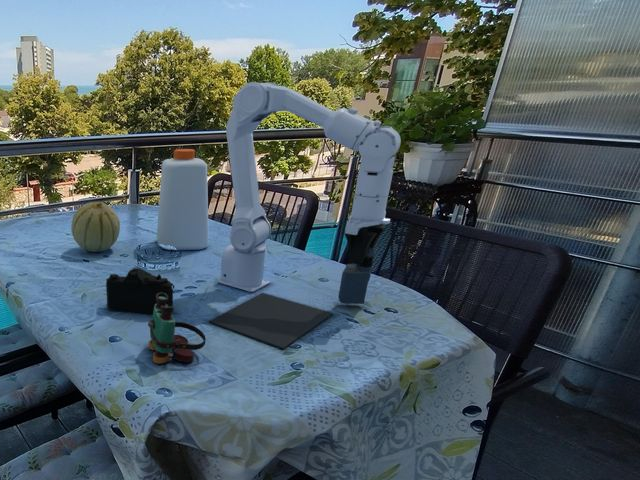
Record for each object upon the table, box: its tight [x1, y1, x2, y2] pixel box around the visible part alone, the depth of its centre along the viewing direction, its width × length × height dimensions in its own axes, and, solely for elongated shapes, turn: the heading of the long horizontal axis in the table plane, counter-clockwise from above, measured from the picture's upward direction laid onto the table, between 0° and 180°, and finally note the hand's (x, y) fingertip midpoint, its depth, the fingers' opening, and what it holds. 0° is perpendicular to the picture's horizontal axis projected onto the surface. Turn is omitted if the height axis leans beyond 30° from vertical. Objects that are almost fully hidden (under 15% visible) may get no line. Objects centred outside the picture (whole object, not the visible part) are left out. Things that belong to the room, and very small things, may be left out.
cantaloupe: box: [70, 201, 121, 253], centre depth 138 cm, size 15×15×15 cm
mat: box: [209, 292, 334, 351], centre depth 94 cm, size 16×20×1 cm
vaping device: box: [338, 247, 375, 305], centre depth 95 cm, size 3×5×12 cm, turn 79°
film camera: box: [105, 267, 175, 315], centre depth 101 cm, size 15×10×9 cm, turn 71°
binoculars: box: [147, 292, 207, 365], centre depth 81 cm, size 9×11×10 cm
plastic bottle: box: [156, 148, 210, 251], centre depth 138 cm, size 15×15×28 cm
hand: (358, 261), depth 94 cm, fingers closed on vaping device, 2 cm apart
